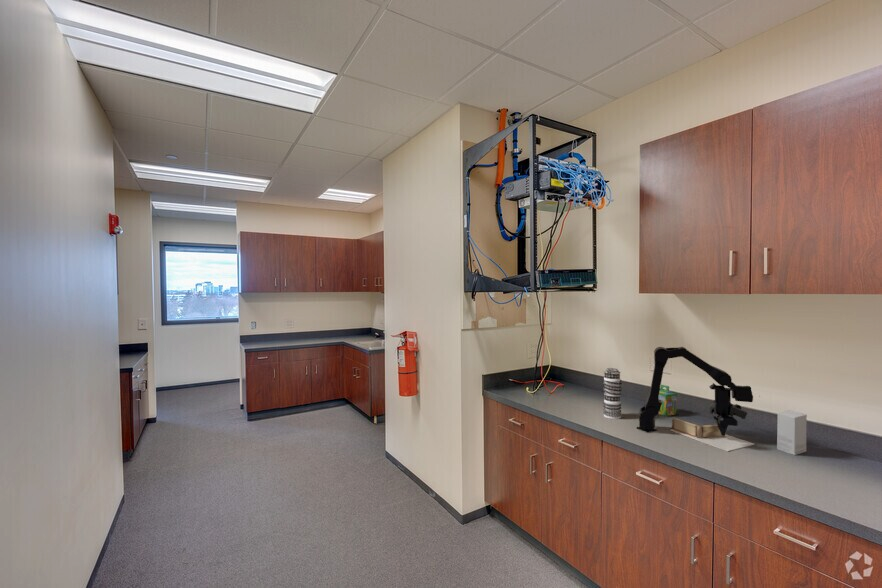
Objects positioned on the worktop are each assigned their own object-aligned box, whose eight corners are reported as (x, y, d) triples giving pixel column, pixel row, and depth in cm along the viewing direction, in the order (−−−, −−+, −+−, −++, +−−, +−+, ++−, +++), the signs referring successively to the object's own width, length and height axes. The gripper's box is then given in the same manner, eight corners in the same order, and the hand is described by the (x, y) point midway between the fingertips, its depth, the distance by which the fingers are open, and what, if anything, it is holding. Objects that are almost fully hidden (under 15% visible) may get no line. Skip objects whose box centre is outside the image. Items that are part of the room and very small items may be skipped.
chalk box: (650, 412, 212) (650, 384, 212) (661, 409, 216) (661, 382, 216) (666, 417, 204) (666, 388, 203) (677, 414, 207) (677, 386, 207)
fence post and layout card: (728, 451, 160) (728, 437, 160) (668, 429, 186) (668, 417, 185) (754, 444, 167) (754, 431, 167) (693, 424, 192) (693, 413, 192)
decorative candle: (625, 418, 202) (625, 370, 201) (609, 419, 200) (609, 371, 200) (615, 413, 211) (615, 366, 210) (599, 414, 209) (599, 367, 209)
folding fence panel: (703, 437, 174) (703, 426, 174) (700, 436, 176) (700, 425, 176) (725, 435, 176) (725, 425, 176) (722, 434, 177) (722, 424, 177)
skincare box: (788, 446, 165) (788, 409, 165) (808, 452, 159) (808, 414, 158) (776, 449, 162) (776, 412, 162) (795, 455, 156) (795, 417, 155)
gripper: (752, 407, 161) (752, 445, 161) (738, 396, 178) (738, 430, 178) (720, 404, 165) (720, 441, 165) (709, 393, 182) (709, 427, 183)
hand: (723, 435), depth 173 cm, fingers closed
